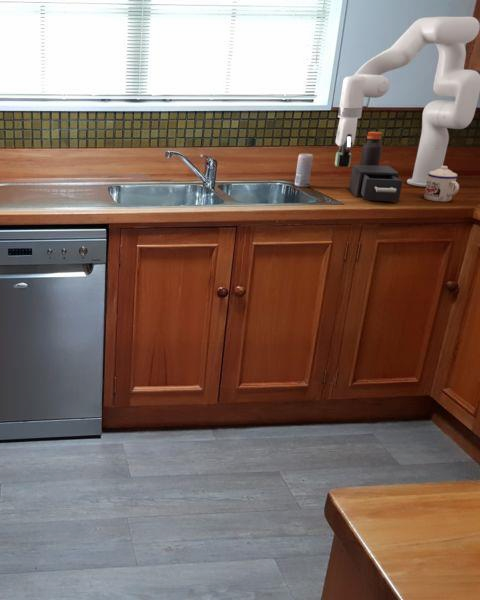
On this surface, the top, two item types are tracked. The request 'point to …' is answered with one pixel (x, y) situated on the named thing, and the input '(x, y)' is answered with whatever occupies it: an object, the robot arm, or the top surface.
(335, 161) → the block
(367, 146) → the bottle
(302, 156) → the energy drink
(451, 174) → the teacup with lid
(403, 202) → the top surface
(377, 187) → the black drawer unit
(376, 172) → the dark drawer box
